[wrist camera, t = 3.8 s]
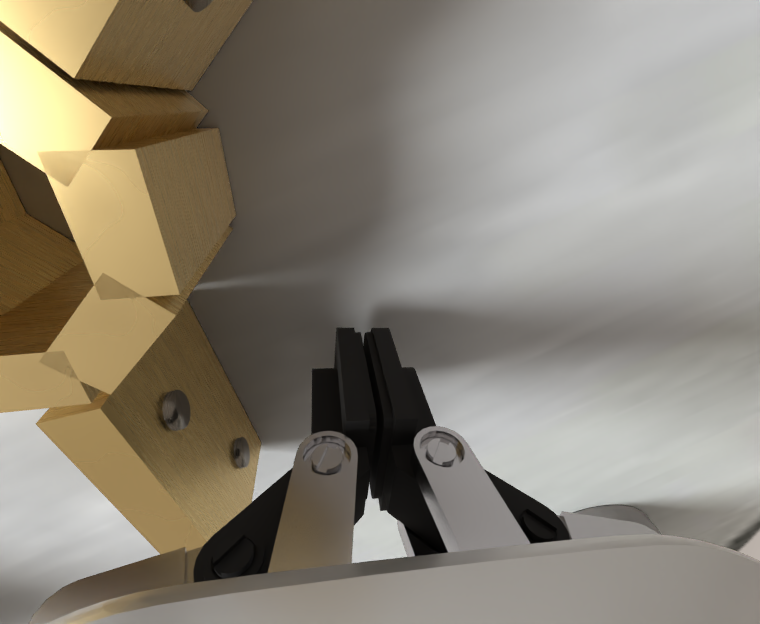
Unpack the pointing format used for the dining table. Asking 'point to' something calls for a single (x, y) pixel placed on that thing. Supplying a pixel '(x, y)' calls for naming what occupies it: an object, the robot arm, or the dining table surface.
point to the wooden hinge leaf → (166, 441)
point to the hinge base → (105, 186)
